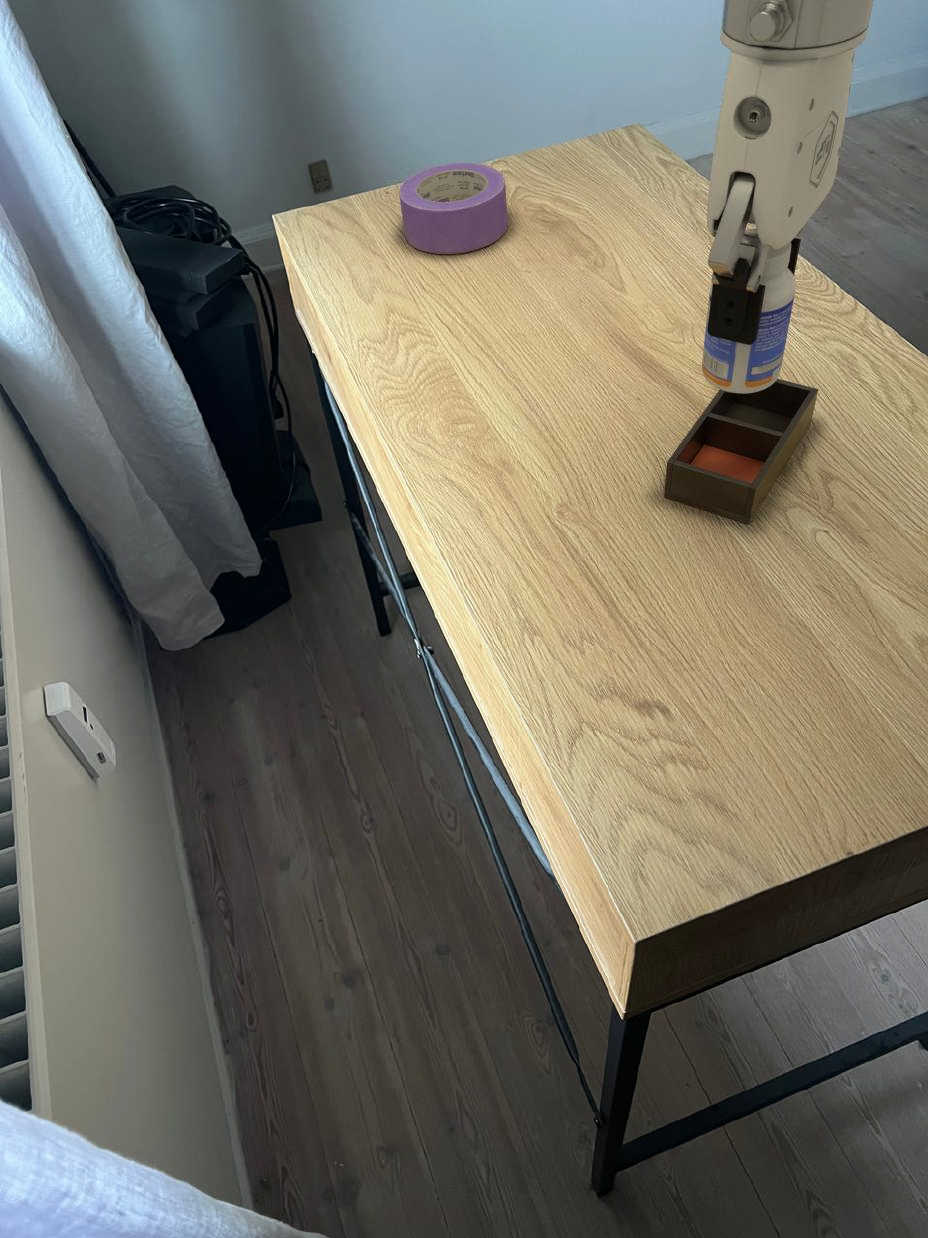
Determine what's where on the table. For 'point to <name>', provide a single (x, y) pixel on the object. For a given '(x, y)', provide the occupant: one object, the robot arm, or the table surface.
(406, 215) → the tape roll
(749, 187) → the robot arm
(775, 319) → the pill bottle
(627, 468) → the table surface
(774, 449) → the brown wooden tray
